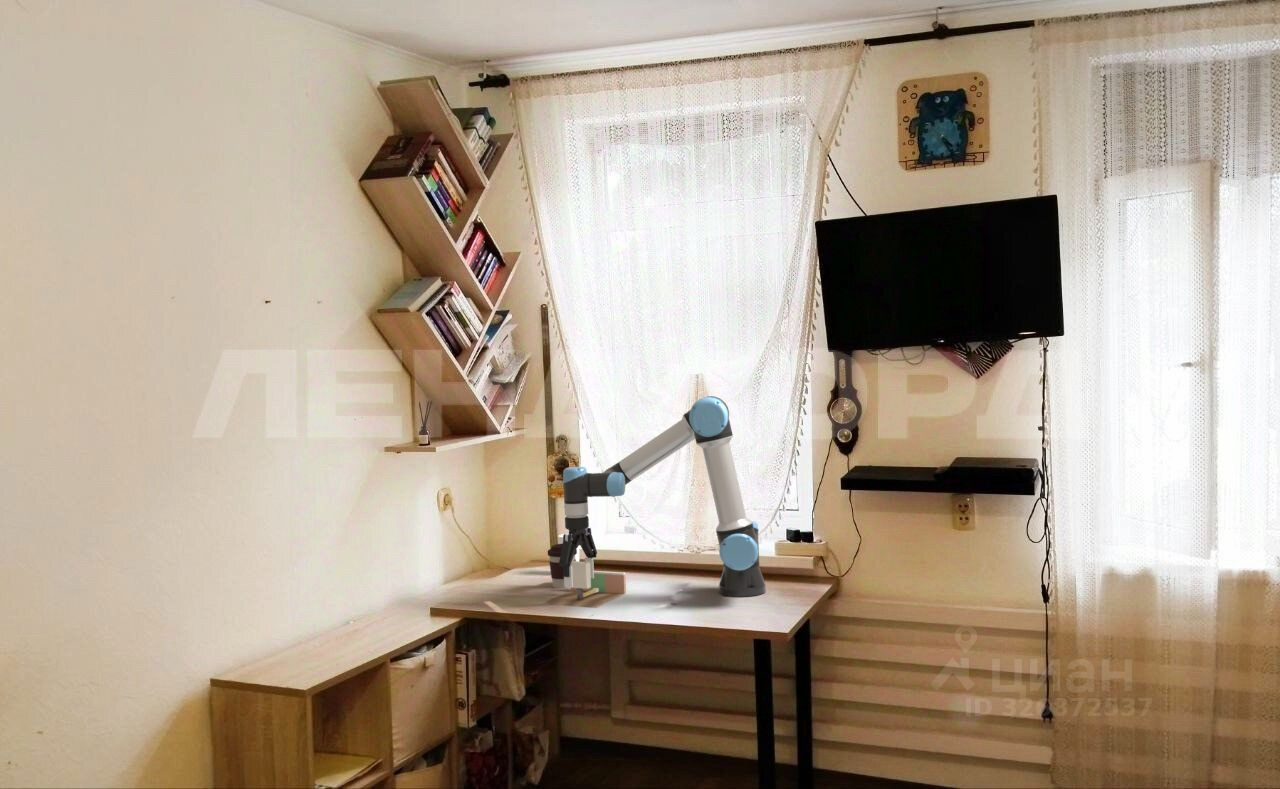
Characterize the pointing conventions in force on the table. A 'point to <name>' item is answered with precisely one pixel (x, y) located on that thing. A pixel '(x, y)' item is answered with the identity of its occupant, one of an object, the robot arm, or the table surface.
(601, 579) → the scale wall
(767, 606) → the table surface
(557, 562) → the coffee cup
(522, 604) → the table surface
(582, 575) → the white block with rod
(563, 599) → the board
